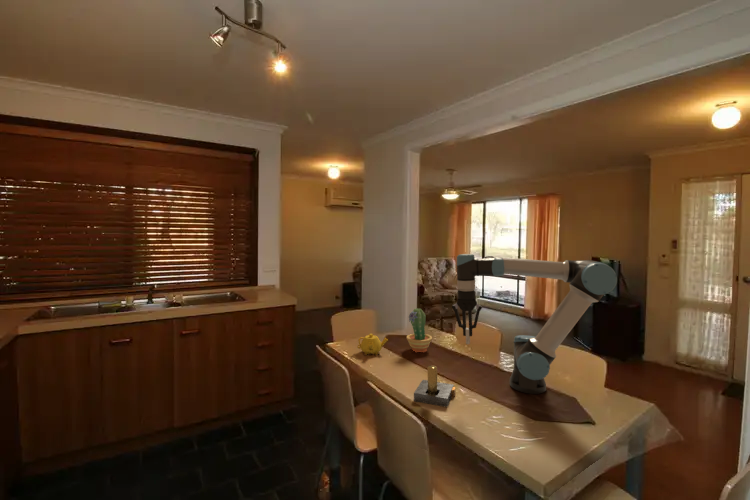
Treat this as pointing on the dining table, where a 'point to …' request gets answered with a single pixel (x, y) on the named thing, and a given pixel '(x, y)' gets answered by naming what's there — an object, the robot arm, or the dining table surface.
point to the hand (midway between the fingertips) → (468, 343)
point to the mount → (440, 399)
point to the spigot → (432, 380)
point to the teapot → (371, 344)
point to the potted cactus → (418, 331)
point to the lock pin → (453, 391)
